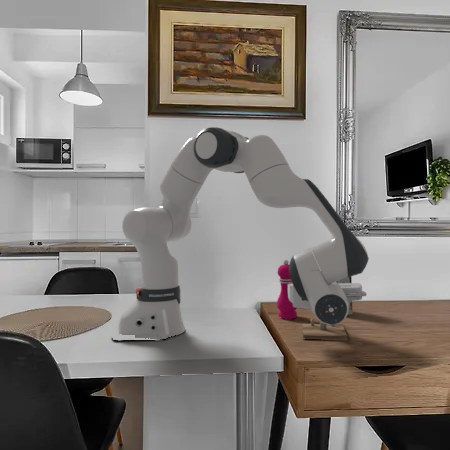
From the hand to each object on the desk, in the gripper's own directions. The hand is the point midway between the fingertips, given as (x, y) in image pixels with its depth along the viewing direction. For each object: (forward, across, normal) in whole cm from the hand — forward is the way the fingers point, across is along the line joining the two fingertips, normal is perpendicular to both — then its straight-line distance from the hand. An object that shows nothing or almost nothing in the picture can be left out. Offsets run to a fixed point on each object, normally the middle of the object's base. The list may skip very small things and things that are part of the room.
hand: (322, 286), depth 112 cm
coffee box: (+25, -6, +14) cm, 29 cm away
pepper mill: (+18, +11, +14) cm, 25 cm away
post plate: (-1, 0, +14) cm, 14 cm away
